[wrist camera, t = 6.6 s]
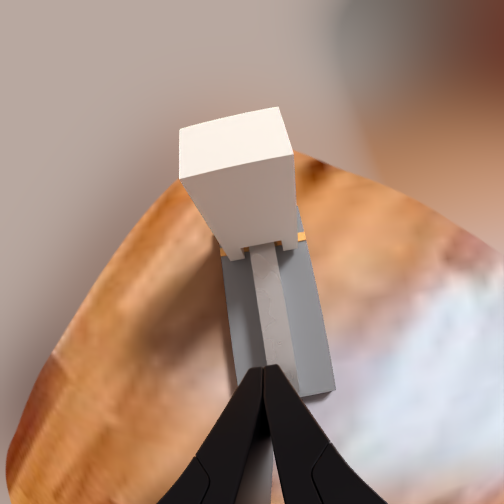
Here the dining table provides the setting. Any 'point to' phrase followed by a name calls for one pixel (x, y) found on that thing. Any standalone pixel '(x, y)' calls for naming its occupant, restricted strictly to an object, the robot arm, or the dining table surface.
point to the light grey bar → (273, 310)
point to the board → (298, 311)
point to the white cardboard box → (242, 179)
